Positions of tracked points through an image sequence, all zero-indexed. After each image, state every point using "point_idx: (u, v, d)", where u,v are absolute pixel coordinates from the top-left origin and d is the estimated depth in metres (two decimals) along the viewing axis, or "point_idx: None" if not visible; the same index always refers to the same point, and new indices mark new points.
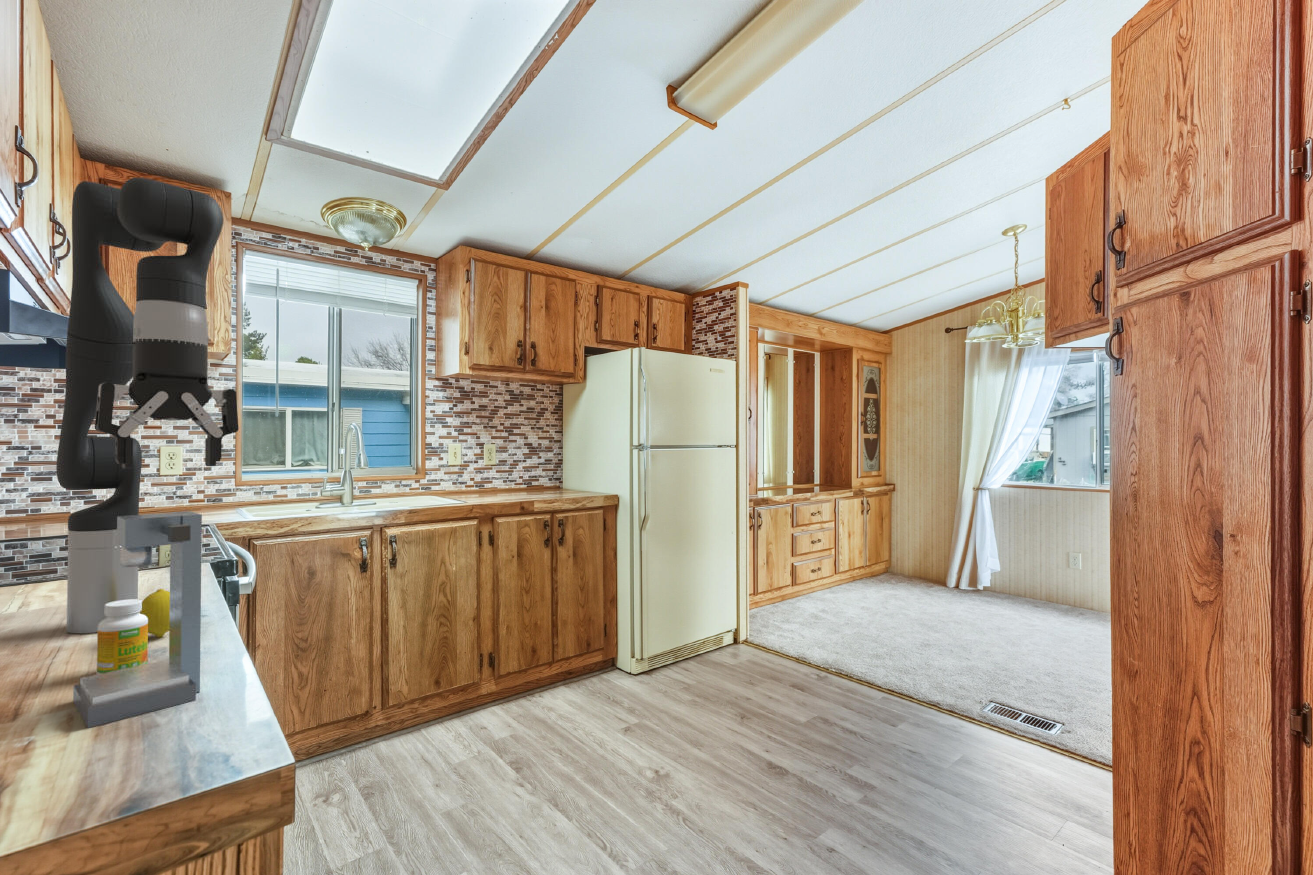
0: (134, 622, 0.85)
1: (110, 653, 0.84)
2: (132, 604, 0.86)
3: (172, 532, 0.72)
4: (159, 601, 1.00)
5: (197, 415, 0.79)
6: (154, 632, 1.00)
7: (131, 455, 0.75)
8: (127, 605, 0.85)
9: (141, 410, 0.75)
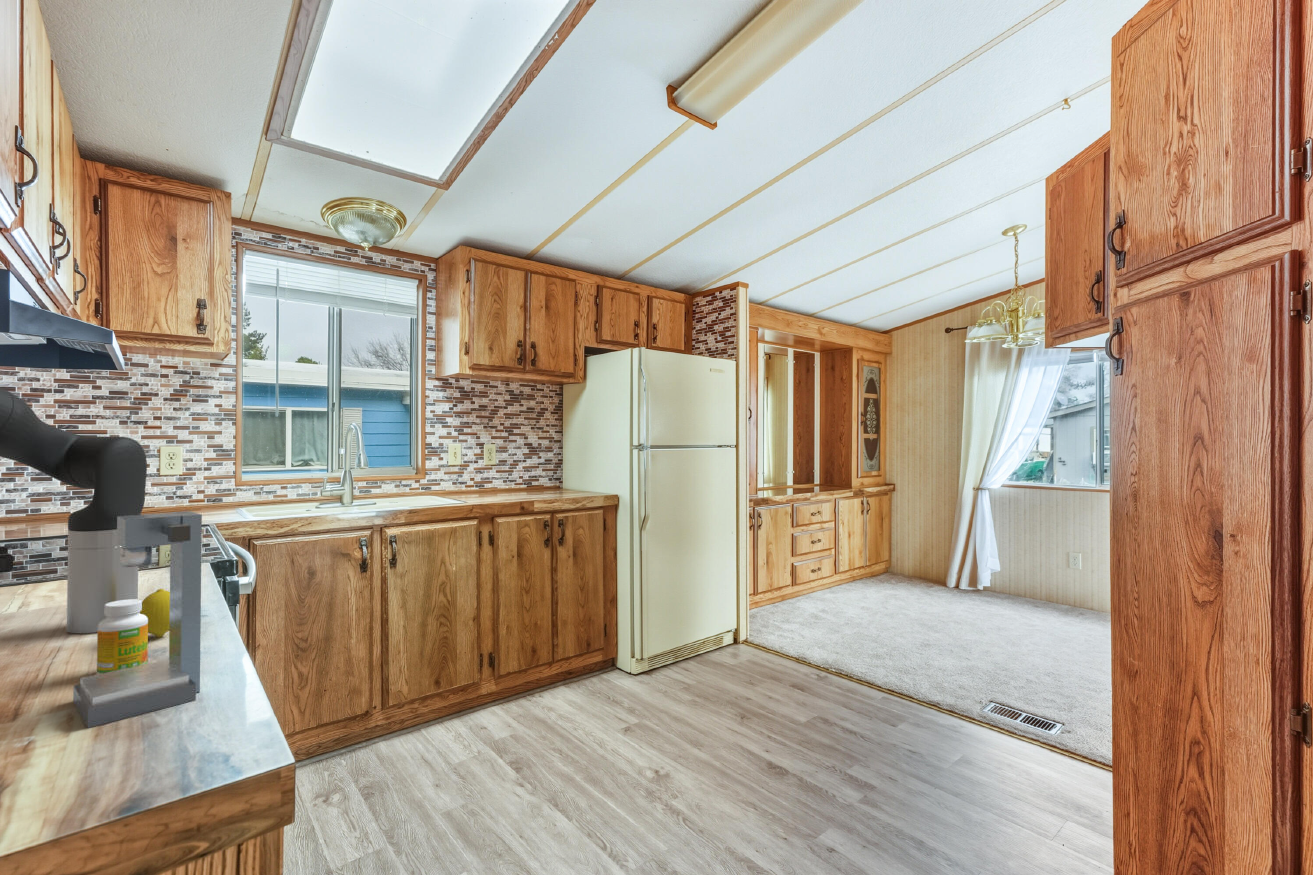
0: (134, 622, 0.85)
1: (110, 653, 0.84)
2: (132, 604, 0.86)
3: (172, 532, 0.72)
4: (159, 601, 1.00)
5: None
6: (154, 632, 1.00)
7: None
8: (127, 605, 0.85)
9: None
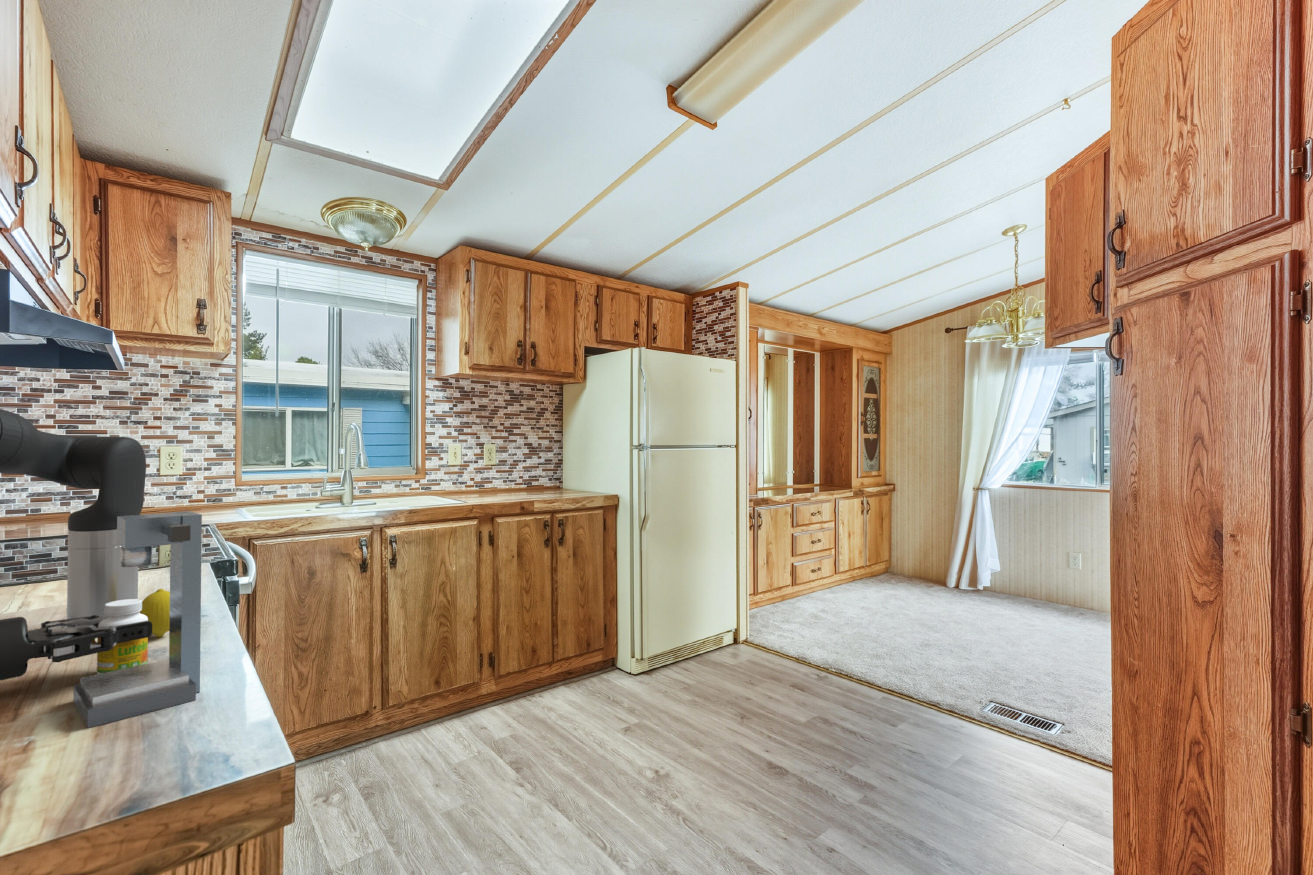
0: (134, 622, 0.85)
1: (110, 653, 0.84)
2: (132, 604, 0.86)
3: (172, 532, 0.72)
4: (159, 601, 1.00)
5: None
6: (154, 632, 1.00)
7: None
8: (127, 605, 0.85)
9: None
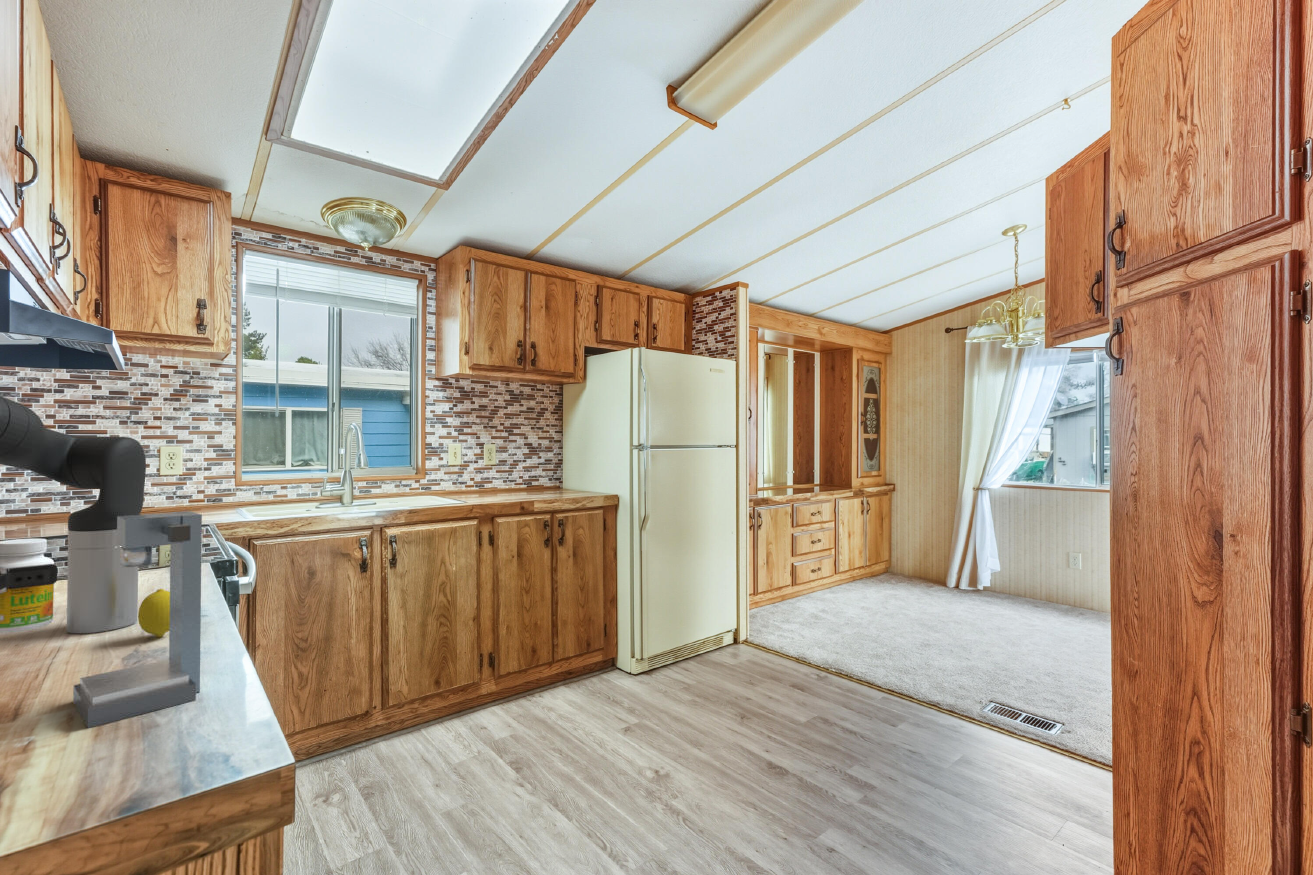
0: (33, 565, 0.68)
1: (0, 603, 0.66)
2: (32, 543, 0.68)
3: (172, 532, 0.72)
4: (159, 601, 1.00)
5: None
6: (154, 632, 1.00)
7: None
8: (25, 543, 0.68)
9: None
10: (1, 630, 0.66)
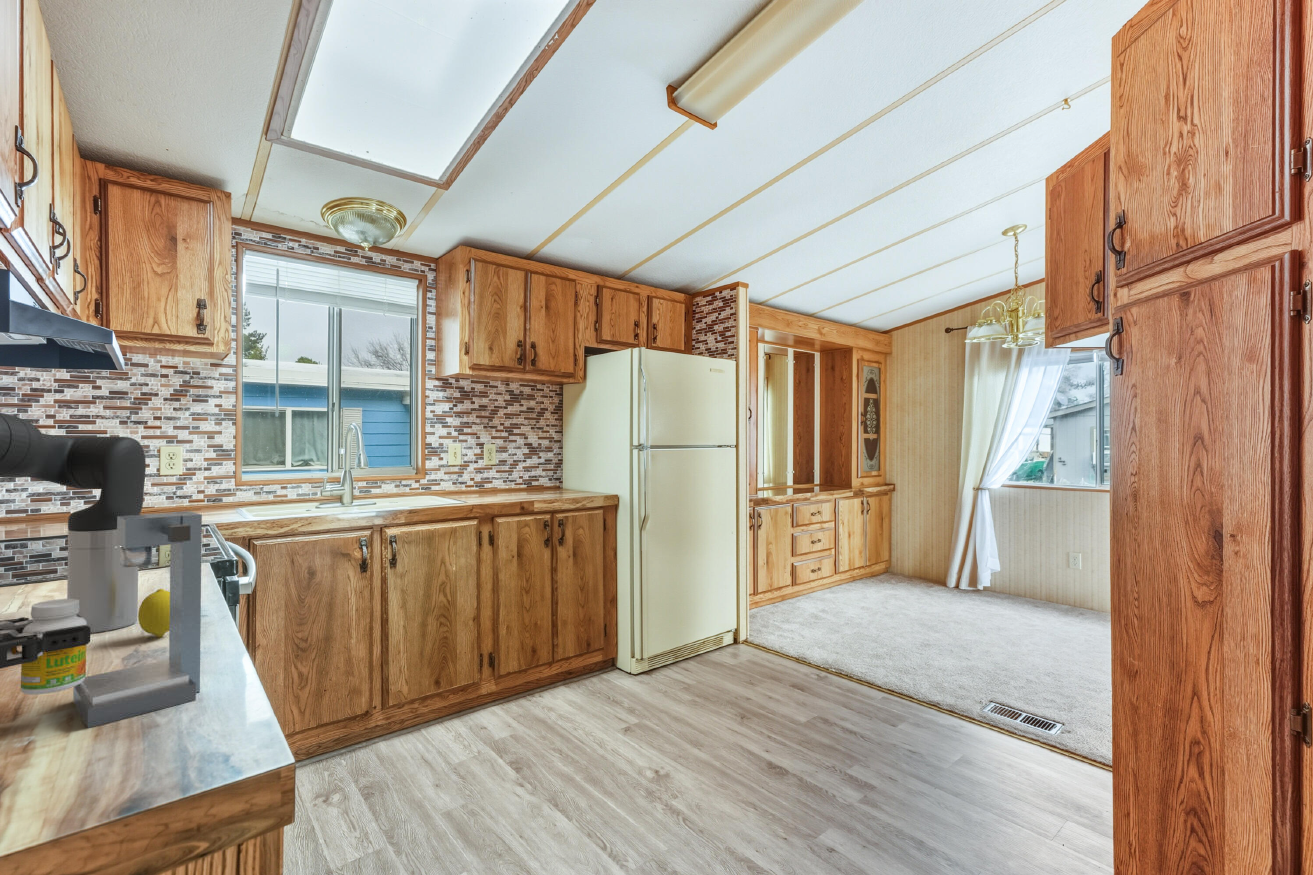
0: (67, 627, 0.70)
1: (37, 665, 0.68)
2: (66, 605, 0.71)
3: (172, 532, 0.72)
4: (159, 601, 1.00)
5: None
6: (154, 632, 1.00)
7: None
8: (59, 606, 0.70)
9: None
10: (37, 691, 0.68)
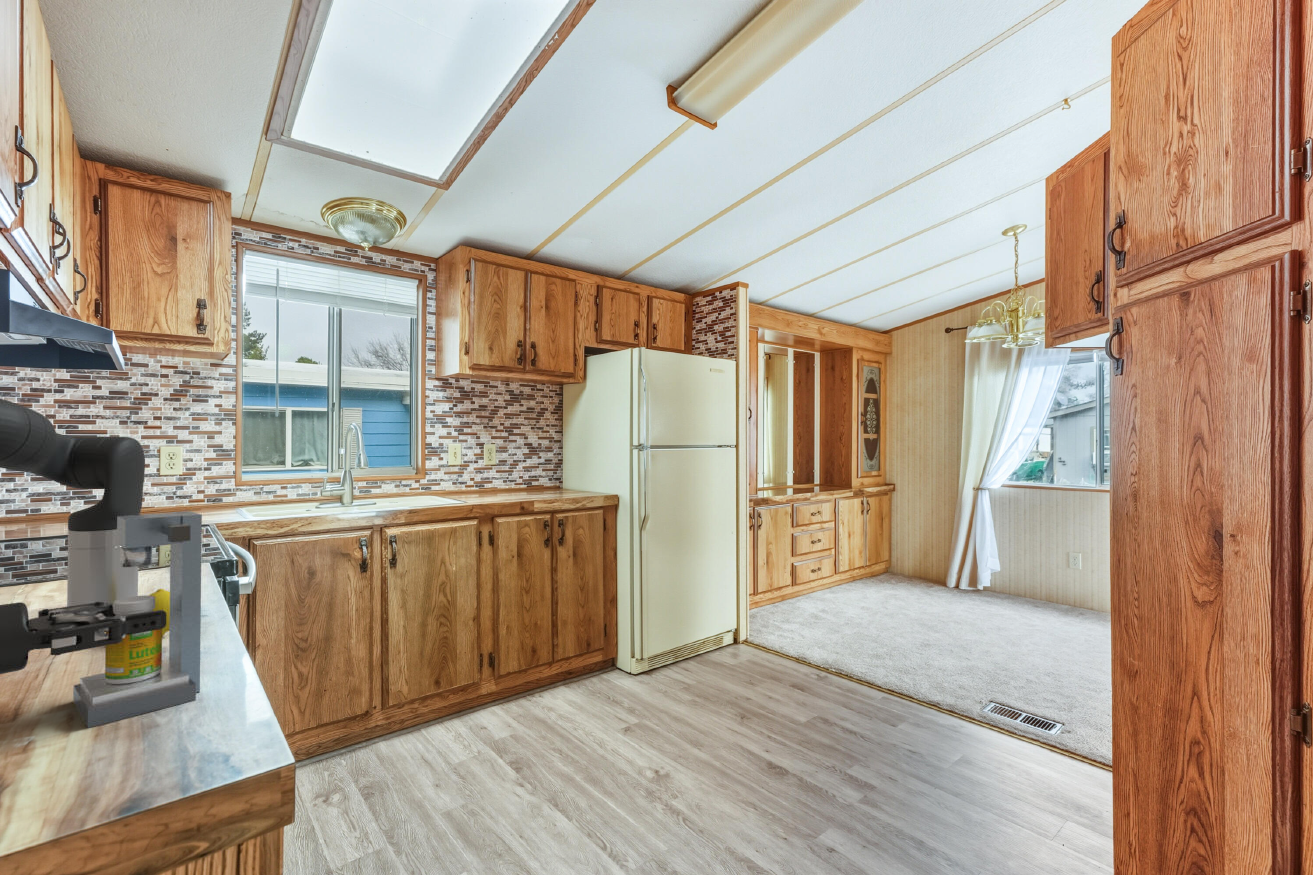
0: None
1: (120, 657, 0.74)
2: (144, 601, 0.76)
3: (172, 532, 0.72)
4: (159, 601, 1.00)
5: None
6: None
7: None
8: (139, 602, 0.75)
9: None
10: (122, 681, 0.74)
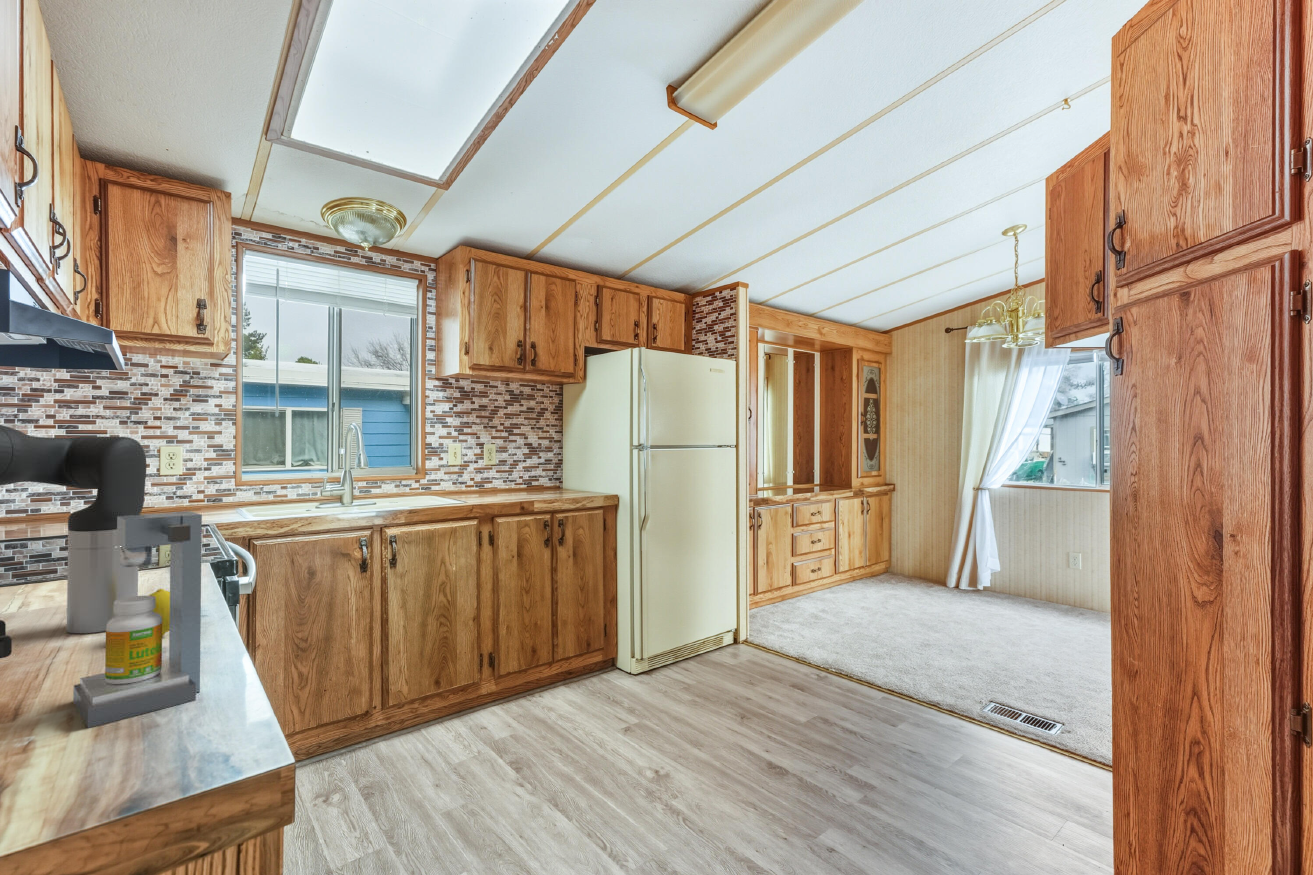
0: (147, 621, 0.76)
1: (121, 657, 0.74)
2: (145, 601, 0.76)
3: (172, 532, 0.72)
4: (159, 601, 1.00)
5: None
6: None
7: None
8: (139, 602, 0.75)
9: None
10: (122, 681, 0.74)
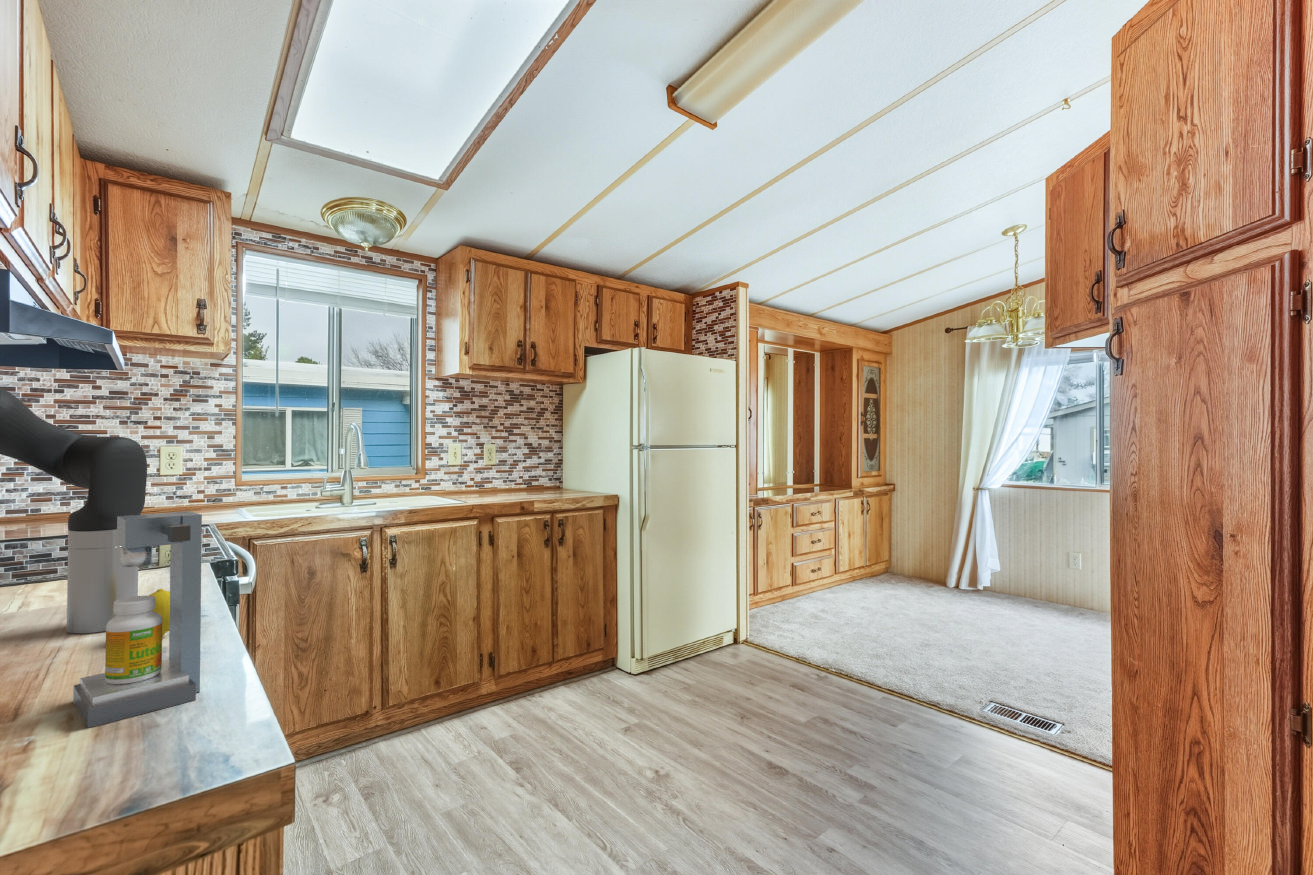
0: (147, 621, 0.76)
1: (121, 657, 0.74)
2: (145, 601, 0.76)
3: (172, 532, 0.72)
4: (159, 601, 1.00)
5: None
6: None
7: None
8: (139, 602, 0.75)
9: None
10: (122, 681, 0.74)
